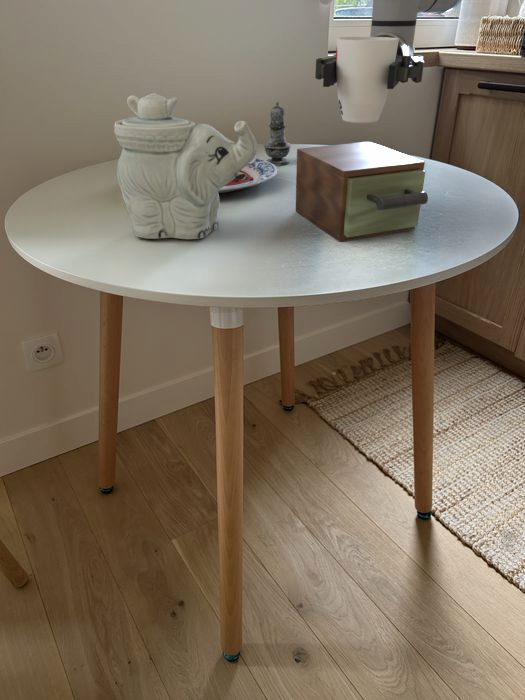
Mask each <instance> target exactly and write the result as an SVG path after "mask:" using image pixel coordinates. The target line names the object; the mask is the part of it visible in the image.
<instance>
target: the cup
mask: <svg viewBox="0 0 525 700" xmlns="http://www.w3.org/2000/svg"><path fill="white" fill-rule="evenodd" d="M398 41H399V39H398V38H390V37H370V36H342V37H336V42H335V43H336V44H335V45H336V47H335V49H336V51H335V54H336V78H337V82H336V90H337V101H338V105H339V110H340V115H341V120H342V121H343V122H347V123H355V124H367V123H368V124H370V123H376V122H378V121H379V119H380V117H381V115H382V112H383V110H384V106H385V104H386V102H387V98H388V95H389V90H390V89H387V83H388V74H389V65H390V64H392V63H393V62H395V59H396V53H397V47H398Z"/></svg>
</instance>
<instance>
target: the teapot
mask: <svg viewBox="0 0 525 700" xmlns="http://www.w3.org/2000/svg"><path fill="white" fill-rule="evenodd" d="M134 102H135V104H136V106H137V108H136V106H135V105H134ZM126 103H127V104H126V105H127V106H128V108H129V109H130V110H131V111H132V112H133V113H134V114H135V115H136V116H131V117H126V118H124V119H119V120H116V121H115V122H114V125H113V126H114V129H113V130H114V134H115V137H116V140H117V142H118V144H119V146H120V147H122V150H121V153H120V156H119V159H118V162H117V166H116V175H117V181H118V184H119V188H120V191H121V195H122V199H123V202H124V205H125V207H126V209H127V211H128V214H129V216H130V221H131V225H132V232H133V234H134V235H135V237H136V236H137V237H139V238H142V239H153V240H156V239H157V240H158V239H168V238H172V239H173V238H174V239H181V240H197V239H202V238H206V237H208V235H209V234H211V232H213V231H214V230H215V231H216V230H217V229H218V228H219V227H220V222H219V218H218V213H219V208H220V195H219V194H220V193H218V190H219V189H220V188H222V187H223V186H225V185H227V184H228V183H229V182H231V181H232V180H233V179H235V177H236V176H237V174H238V172H239V171H240V170H242V169H243V168H244V167H245V166H247V165H248V164H249V163H250V162H251V161H252V159H253V158H256V155H257V152H258V143H257V140H256V138H255V136H254V134H253V133H252V130H251V129H250V127H249V125H248V124H247V122H246V121H245V120H238V121H237V122H236V123H235V124H234V127H233V128H234V129H233V130H234V132H235V133H236V134H237V136H238V140H237V141H236V142H234V141H233V140H230V139H229V138H228V137H226V136H225V135H223V134H222V133H221V132H219V131H218V130H217V129H216V128H214V127H213V126H212V125H209V124H207V123H195V122H194V121H191V120H190V119H183V118H178V117H172V116H173V113H174V110H175V107H176V106H177V104H178V98H177V97H171V98H169V99H167V98H166V97H165V96H163V95H162V96H161V95H160V94H157V93H155V92H152V93H150V94H148V95H145V96H143V97H140V98H139V97H138V96H137V95H133V94H131V95H129V96H128V97H127V99H126Z"/></svg>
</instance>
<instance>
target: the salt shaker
mask: <svg viewBox="0 0 525 700" xmlns="http://www.w3.org/2000/svg"><path fill="white" fill-rule="evenodd" d="M275 104H276V105H275V106H273V107H272V108H271V109H270V124H268V127H269V130H270V131H269V133H270V134H269V141H267V142H266V143H264V144H263V147H264V151H265V153H266V155H267V156H268V158H267V159H266V160H265V161H268V162H270V163H272V164H274V165H275V166H276V167H277V166H285V165H289V164H290V163H291V162H290V160H289V159H287V158H286V157H287V156H288V155H289V153H290V151H291V147H292V144H291V143H289V142H287V140H286V135H285V134H286V127H287V125H286V124H285V109H284V107H282V106H280V103H279V101H278V100H277V101H276V103H275Z"/></svg>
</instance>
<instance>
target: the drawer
mask: <svg viewBox="0 0 525 700" xmlns="http://www.w3.org/2000/svg"><path fill="white" fill-rule="evenodd" d="M425 176H426V170H425V169H424V170H421V169H418V170H410V171H409V170H405V171H397V172H388V173H380V174H372V175H364V176H356V177H349V178H348V181H347V194H346V208H345V222H344V235H345V236H346V237H354V236H360V235H366V234H372V233H379V232H385V231H391V230H397V229H403V228H409V227H415V228H416V227H418V225H419V218H420V210H421V206H422V205H426V204H427V203H428V200H429V196H428V193H427V192H426V191H423V190H424V184H425V178H426V177H425Z"/></svg>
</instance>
